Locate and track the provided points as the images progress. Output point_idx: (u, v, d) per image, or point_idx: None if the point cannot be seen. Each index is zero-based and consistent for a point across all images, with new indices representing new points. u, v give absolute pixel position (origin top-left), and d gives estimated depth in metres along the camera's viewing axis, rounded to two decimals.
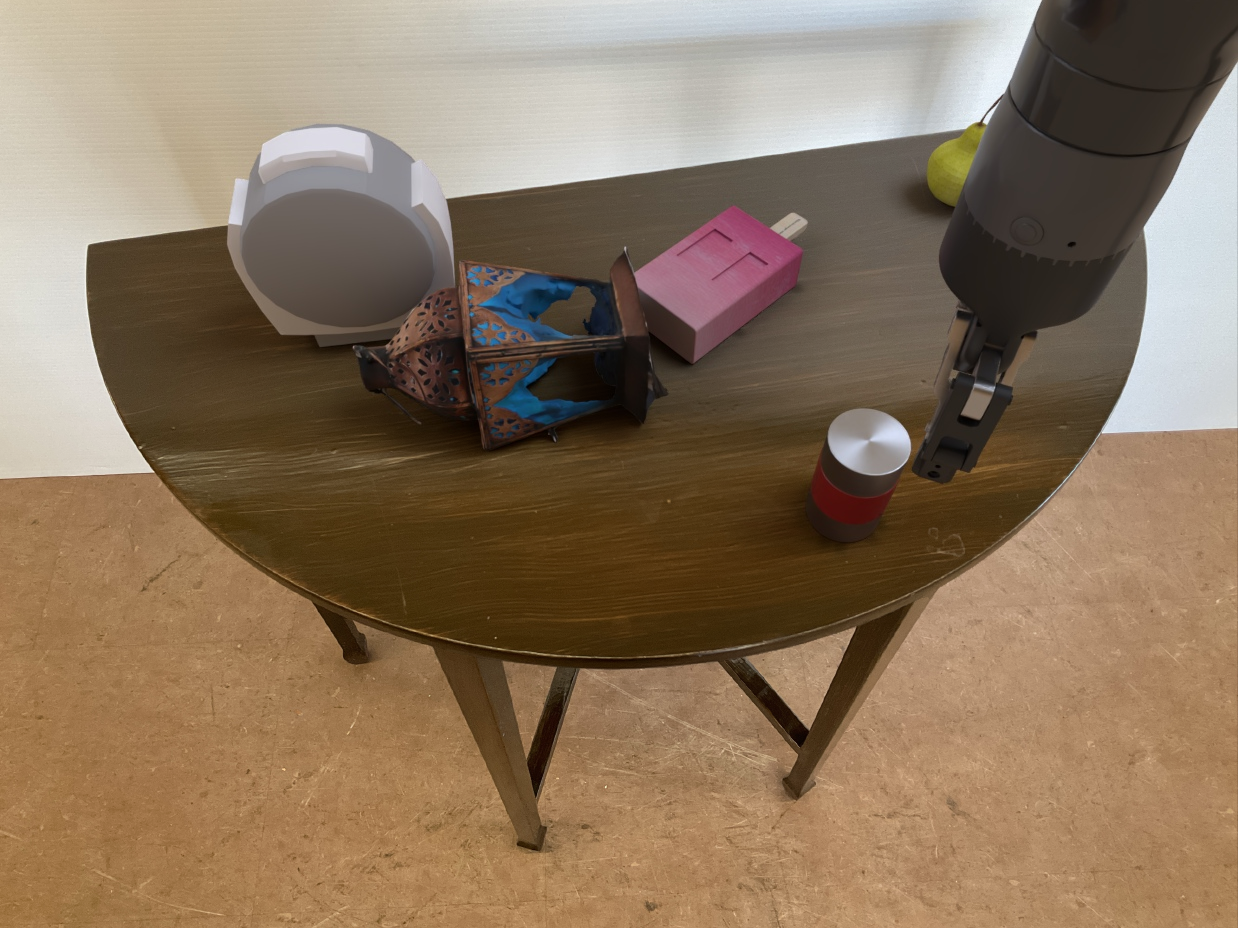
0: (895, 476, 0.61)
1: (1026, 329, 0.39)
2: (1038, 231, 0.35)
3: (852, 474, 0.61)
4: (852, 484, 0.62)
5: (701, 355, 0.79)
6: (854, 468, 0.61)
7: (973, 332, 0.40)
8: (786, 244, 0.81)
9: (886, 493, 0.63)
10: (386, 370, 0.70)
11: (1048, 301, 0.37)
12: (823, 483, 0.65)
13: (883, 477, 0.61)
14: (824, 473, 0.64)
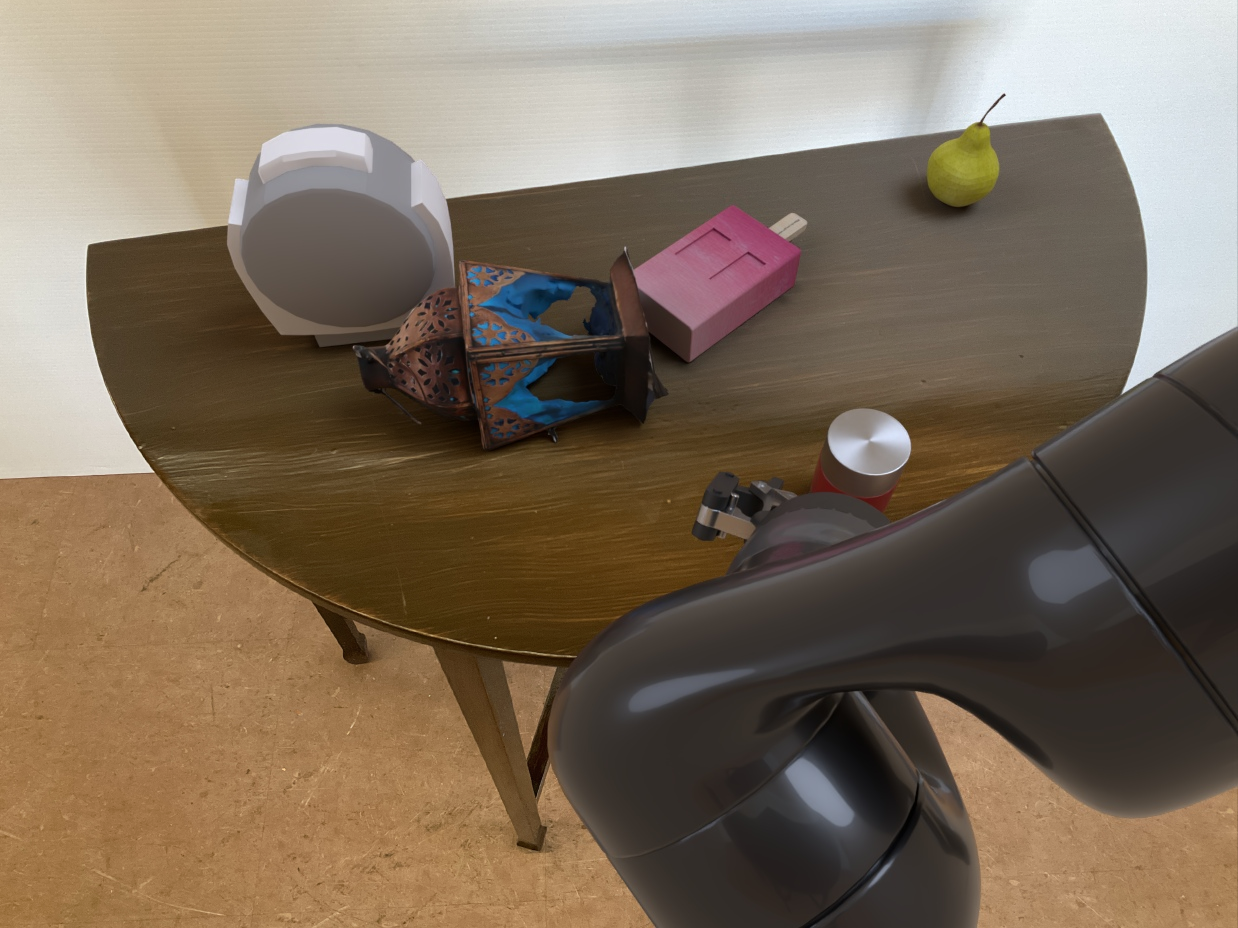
0: (895, 476, 0.61)
1: None
2: None
3: (852, 474, 0.61)
4: (852, 484, 0.62)
5: (697, 354, 0.79)
6: (854, 468, 0.61)
7: None
8: (784, 244, 0.81)
9: (886, 493, 0.63)
10: (386, 370, 0.70)
11: None
12: (823, 483, 0.65)
13: (883, 477, 0.61)
14: (824, 473, 0.64)
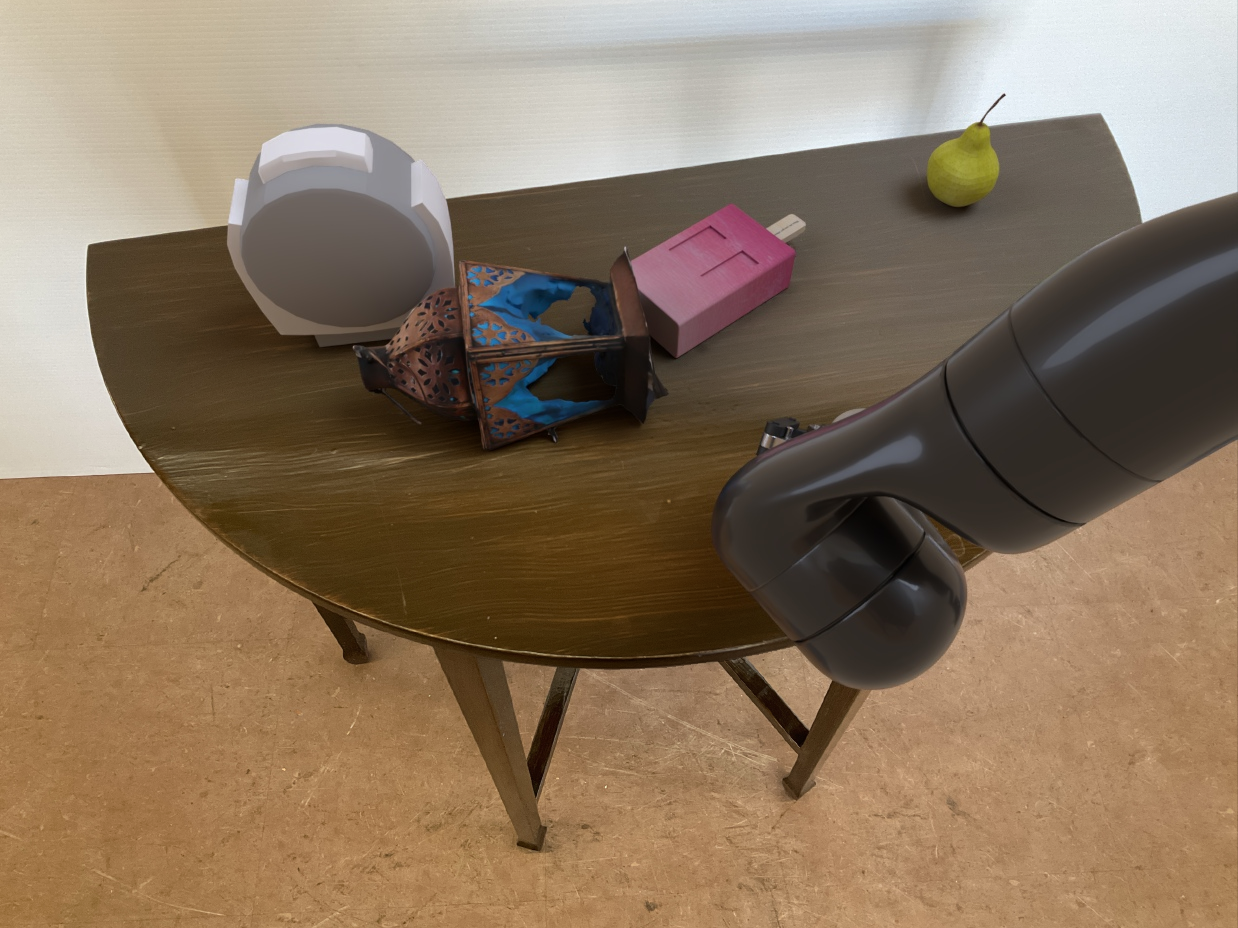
0: None
1: None
2: None
3: None
4: None
5: (685, 350, 0.80)
6: None
7: None
8: (779, 245, 0.81)
9: None
10: (386, 370, 0.70)
11: None
12: None
13: None
14: None
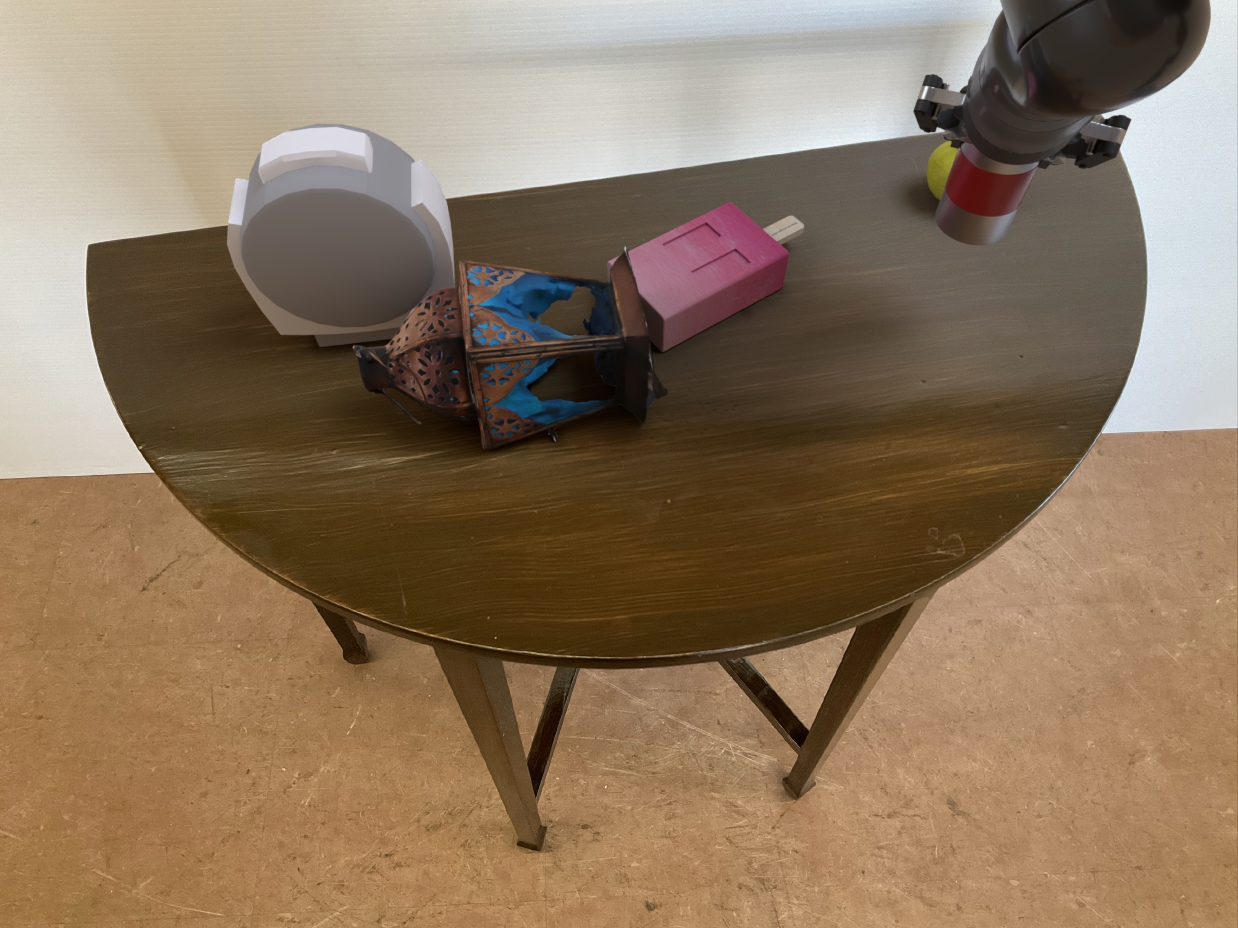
0: None
1: None
2: None
3: None
4: None
5: (672, 345, 0.80)
6: None
7: None
8: (773, 245, 0.81)
9: (1029, 171, 0.65)
10: (386, 370, 0.70)
11: None
12: (964, 170, 0.66)
13: None
14: (967, 157, 0.66)
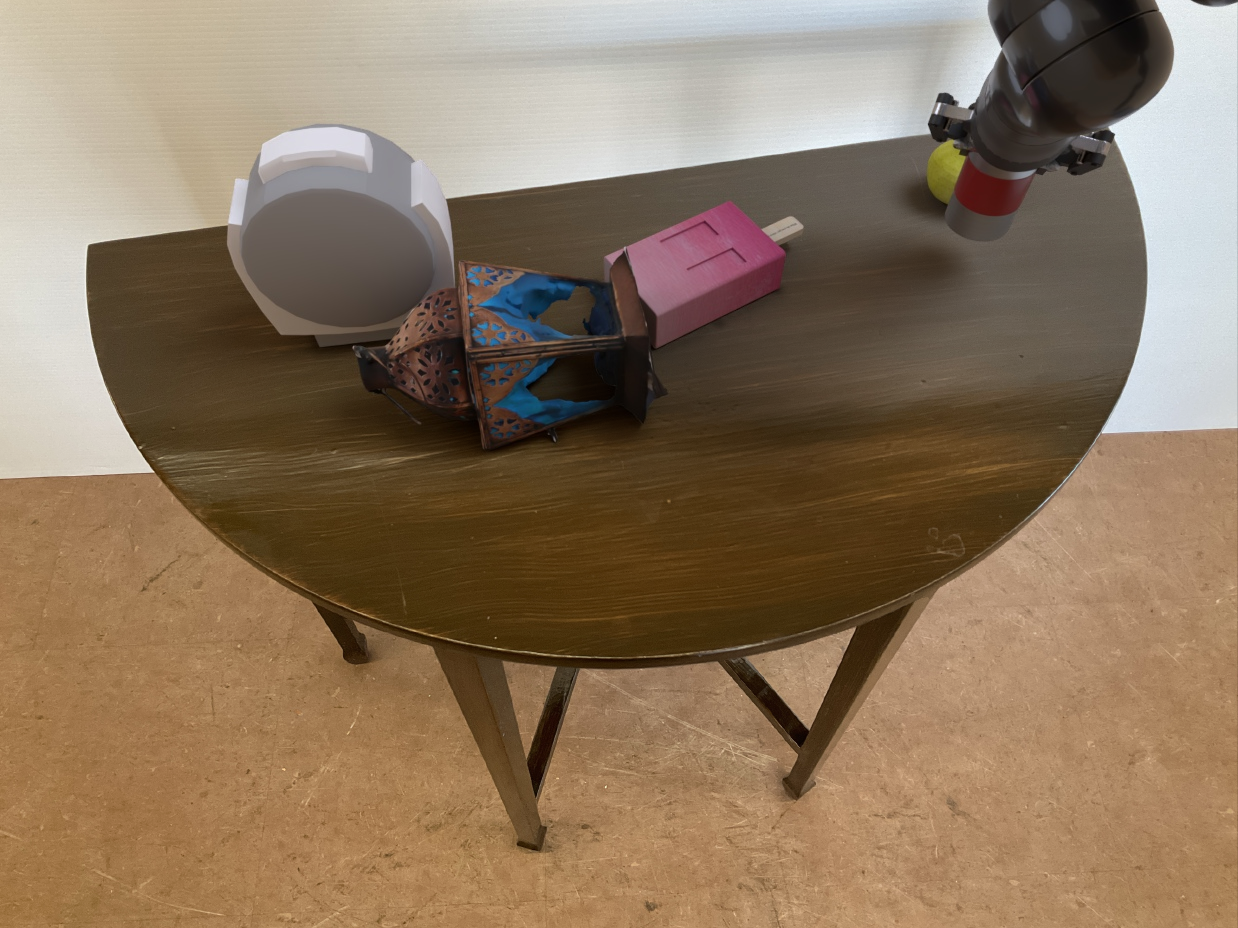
0: None
1: None
2: None
3: None
4: None
5: (665, 341, 0.80)
6: None
7: None
8: (770, 245, 0.81)
9: (1028, 177, 0.74)
10: (386, 370, 0.70)
11: None
12: (971, 175, 0.76)
13: None
14: (973, 164, 0.75)
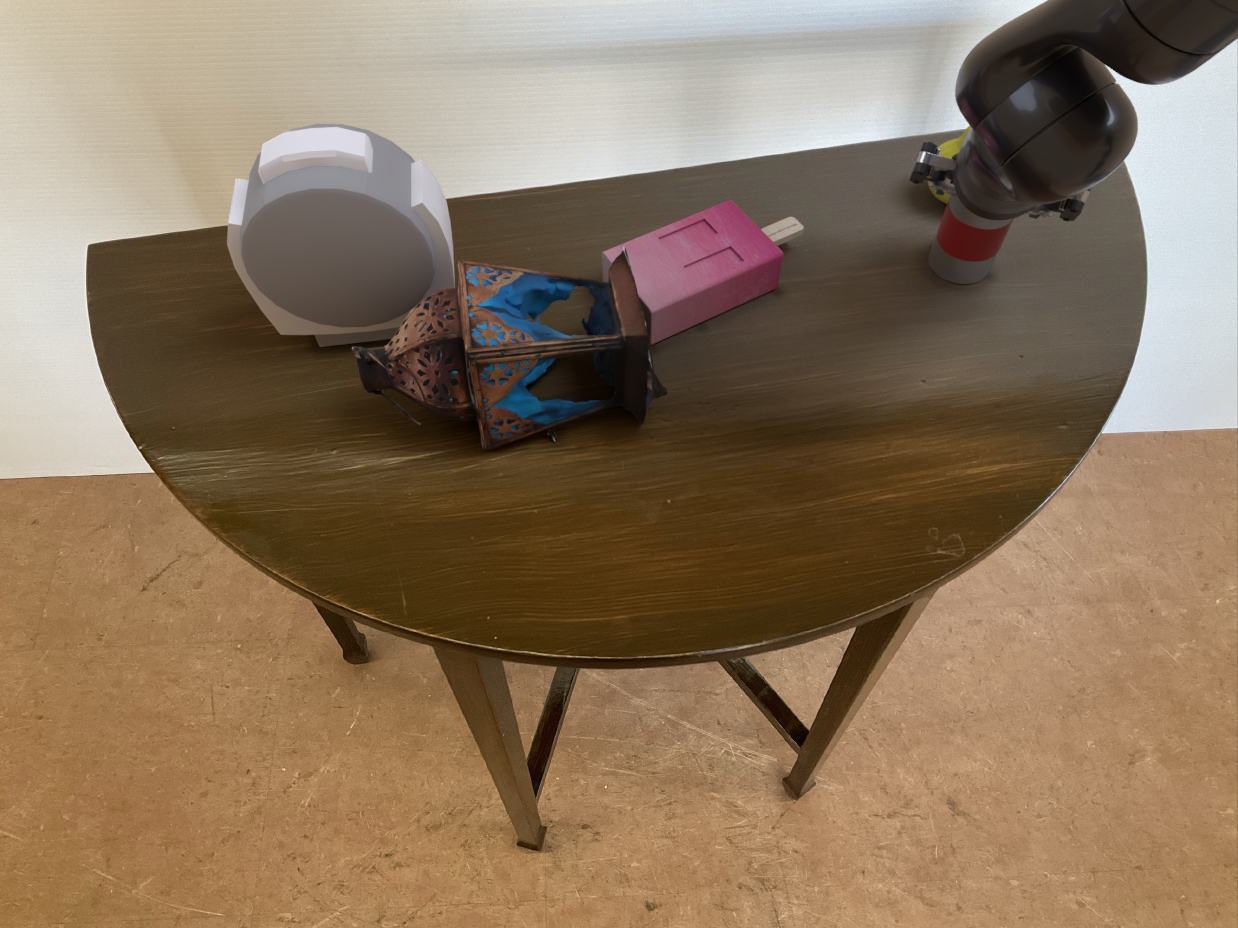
0: None
1: None
2: None
3: None
4: None
5: (660, 338, 0.80)
6: None
7: None
8: (768, 245, 0.81)
9: (1004, 226, 0.79)
10: (385, 371, 0.70)
11: None
12: (951, 224, 0.80)
13: None
14: (953, 214, 0.80)
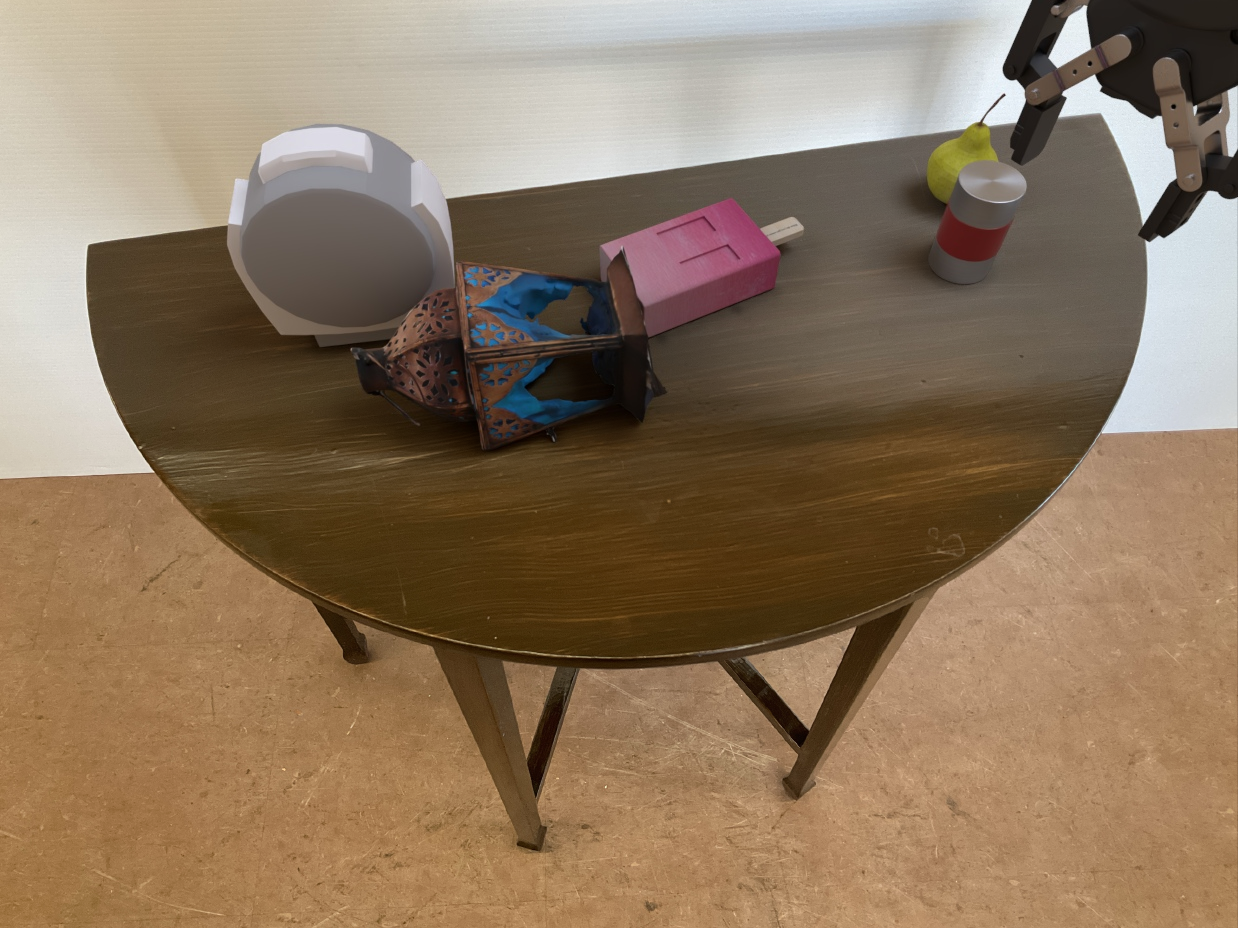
0: (1014, 207, 0.77)
1: None
2: None
3: (981, 204, 0.77)
4: (979, 215, 0.78)
5: (653, 333, 0.81)
6: (983, 198, 0.76)
7: (1237, 53, 0.39)
8: (766, 244, 0.81)
9: (1004, 226, 0.79)
10: (384, 372, 0.70)
11: None
12: (951, 224, 0.80)
13: (1006, 205, 0.76)
14: (953, 214, 0.80)
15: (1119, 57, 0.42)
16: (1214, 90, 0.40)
